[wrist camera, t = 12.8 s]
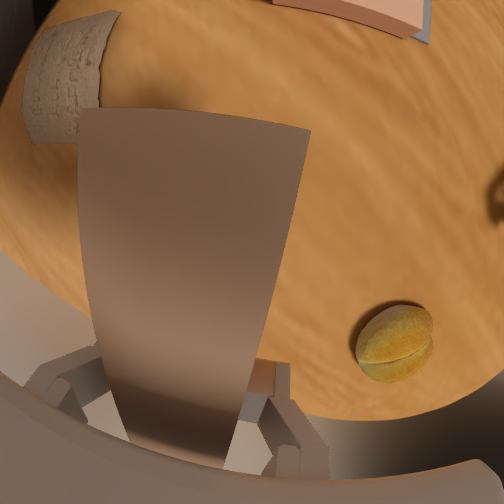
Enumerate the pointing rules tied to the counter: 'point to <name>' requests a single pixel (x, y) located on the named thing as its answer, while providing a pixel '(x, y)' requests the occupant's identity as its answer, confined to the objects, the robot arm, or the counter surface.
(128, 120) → the bar
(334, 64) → the counter surface
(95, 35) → the clay tablet
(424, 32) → the mat
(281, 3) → the tile
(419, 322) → the bread roll
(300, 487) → the robot arm
